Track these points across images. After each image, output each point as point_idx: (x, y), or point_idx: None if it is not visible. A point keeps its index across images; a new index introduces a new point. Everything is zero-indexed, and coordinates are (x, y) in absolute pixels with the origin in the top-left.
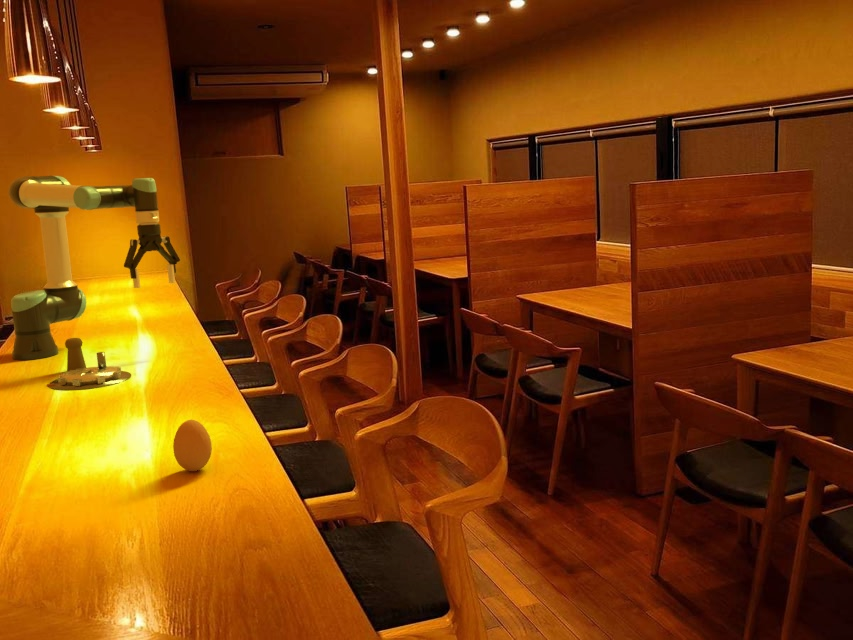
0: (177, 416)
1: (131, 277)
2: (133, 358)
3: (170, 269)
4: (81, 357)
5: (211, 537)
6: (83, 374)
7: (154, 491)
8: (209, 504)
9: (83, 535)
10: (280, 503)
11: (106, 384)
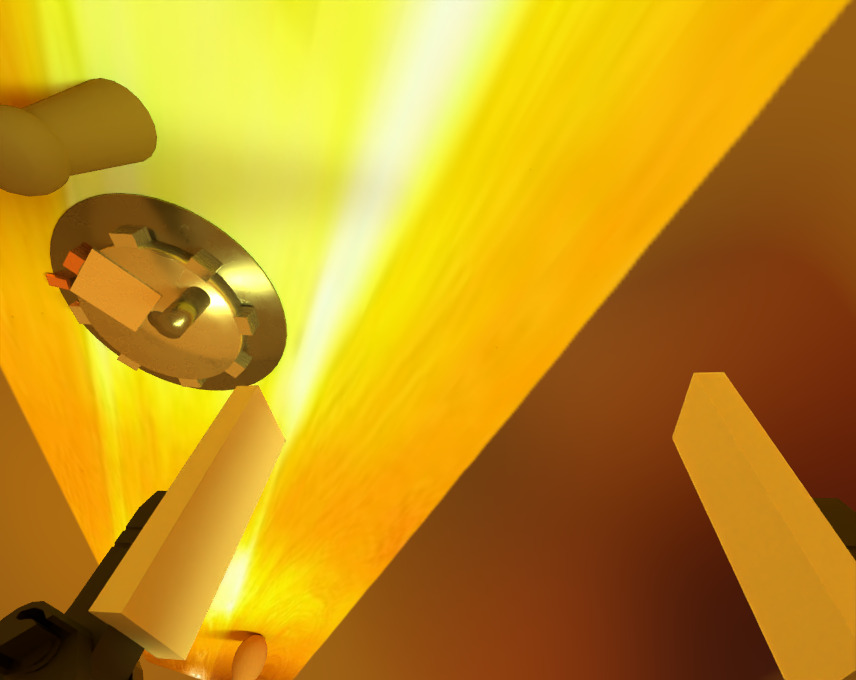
0: (286, 568)
1: (151, 511)
2: (368, 79)
3: (766, 590)
4: (104, 166)
5: None
6: (142, 329)
7: (223, 636)
8: None
9: None
10: (289, 670)
11: (211, 383)
